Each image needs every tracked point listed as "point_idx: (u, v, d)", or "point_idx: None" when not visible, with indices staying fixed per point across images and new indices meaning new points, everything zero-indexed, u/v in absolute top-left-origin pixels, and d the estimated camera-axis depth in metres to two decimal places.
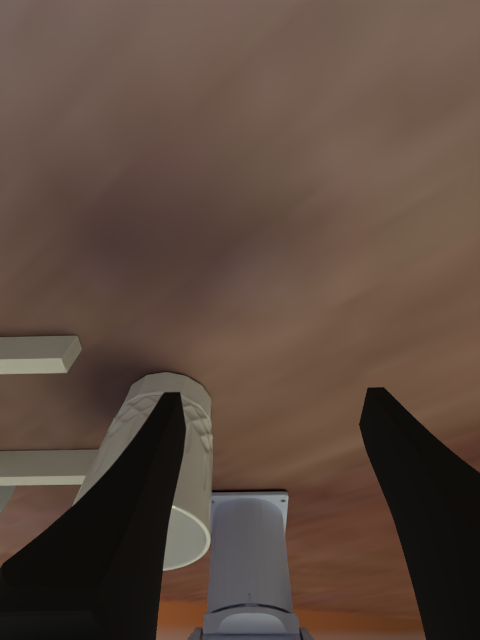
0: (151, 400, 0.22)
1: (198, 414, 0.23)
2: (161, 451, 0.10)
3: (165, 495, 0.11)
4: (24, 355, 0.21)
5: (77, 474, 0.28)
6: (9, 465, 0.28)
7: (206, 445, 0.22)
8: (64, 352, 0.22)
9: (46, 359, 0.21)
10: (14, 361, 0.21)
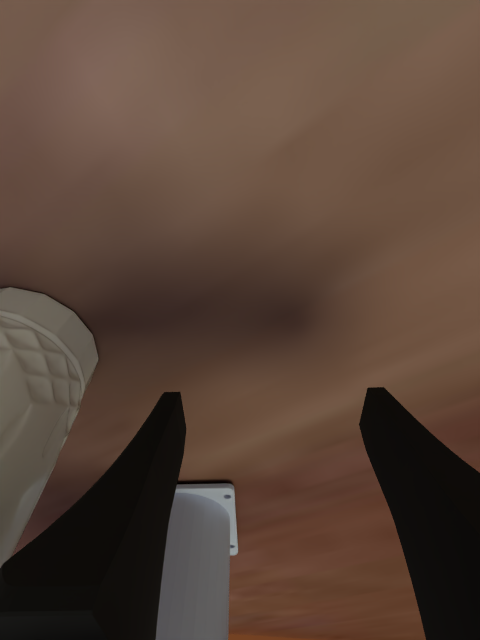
0: None
1: (42, 344, 0.14)
2: (161, 451, 0.10)
3: (165, 495, 0.11)
4: None
5: None
6: None
7: (44, 393, 0.13)
8: None
9: None
10: None
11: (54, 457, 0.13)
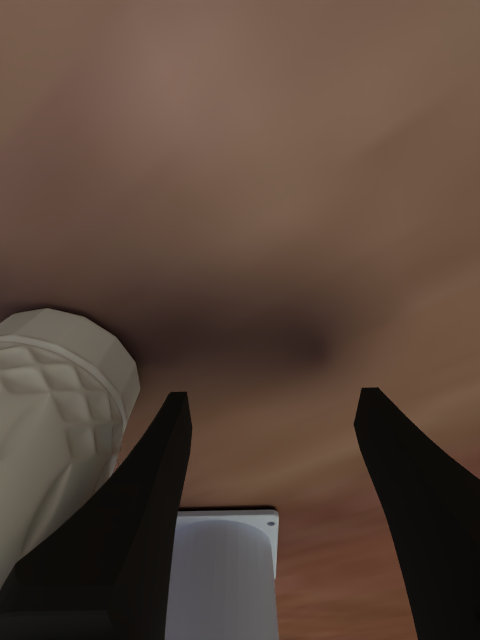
0: None
1: (82, 382, 0.11)
2: (169, 451, 0.10)
3: (173, 495, 0.11)
4: None
5: None
6: None
7: (85, 444, 0.11)
8: None
9: None
10: None
11: None
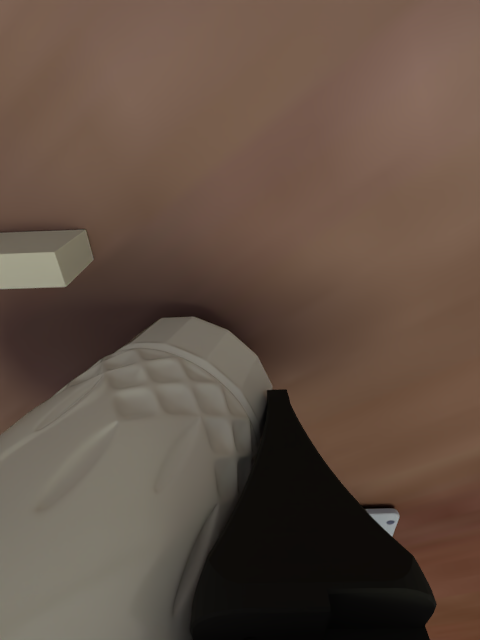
0: (138, 354, 0.11)
1: (228, 406, 0.10)
2: None
3: None
4: None
5: None
6: None
7: (228, 480, 0.09)
8: (61, 246, 0.11)
9: (25, 255, 0.11)
10: None
11: None
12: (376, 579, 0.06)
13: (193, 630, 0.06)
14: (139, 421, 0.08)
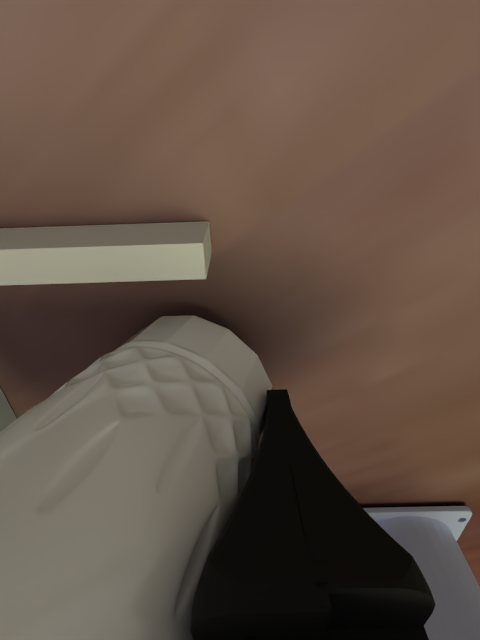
0: (138, 353, 0.11)
1: (229, 406, 0.10)
2: None
3: None
4: (123, 241, 0.11)
5: None
6: None
7: (229, 480, 0.09)
8: (202, 237, 0.11)
9: (172, 246, 0.10)
10: (106, 252, 0.10)
11: None
12: (375, 579, 0.06)
13: (194, 630, 0.06)
14: (141, 420, 0.08)
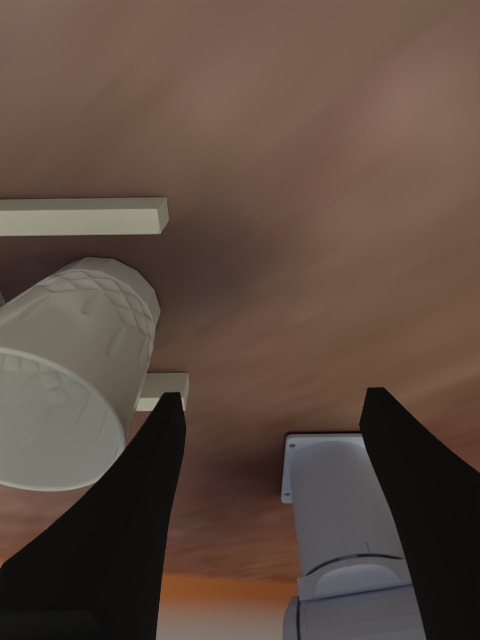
0: (54, 275, 0.17)
1: (121, 289, 0.17)
2: (162, 451, 0.10)
3: (165, 495, 0.11)
4: (105, 207, 0.16)
5: (146, 397, 0.22)
6: None
7: (130, 321, 0.16)
8: (158, 205, 0.16)
9: (137, 210, 0.16)
10: (93, 213, 0.16)
11: (144, 371, 0.16)
12: None
13: None
14: (65, 292, 0.15)
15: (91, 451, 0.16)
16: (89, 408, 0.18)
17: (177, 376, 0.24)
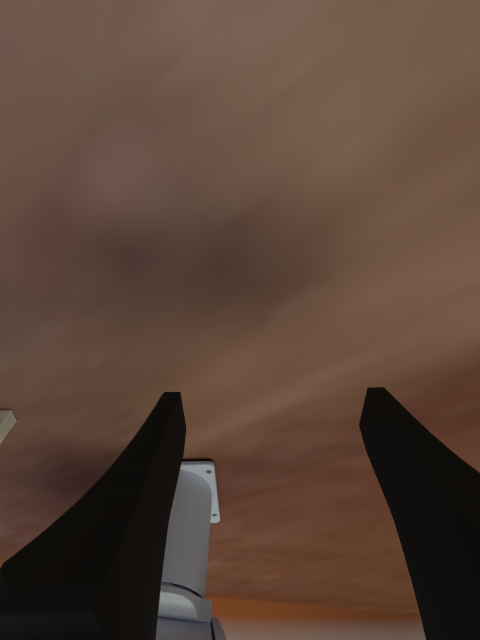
0: None
1: None
2: (161, 451, 0.10)
3: (165, 495, 0.11)
4: None
5: None
6: None
7: None
8: None
9: None
10: None
11: None
12: None
13: None
14: None
15: None
16: None
17: None
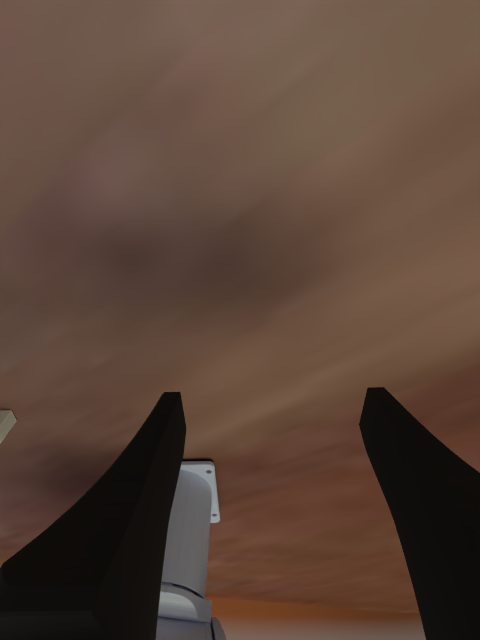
0: None
1: None
2: (161, 451, 0.10)
3: (165, 495, 0.11)
4: None
5: None
6: None
7: None
8: None
9: None
10: None
11: None
12: None
13: None
14: None
15: None
16: None
17: None
